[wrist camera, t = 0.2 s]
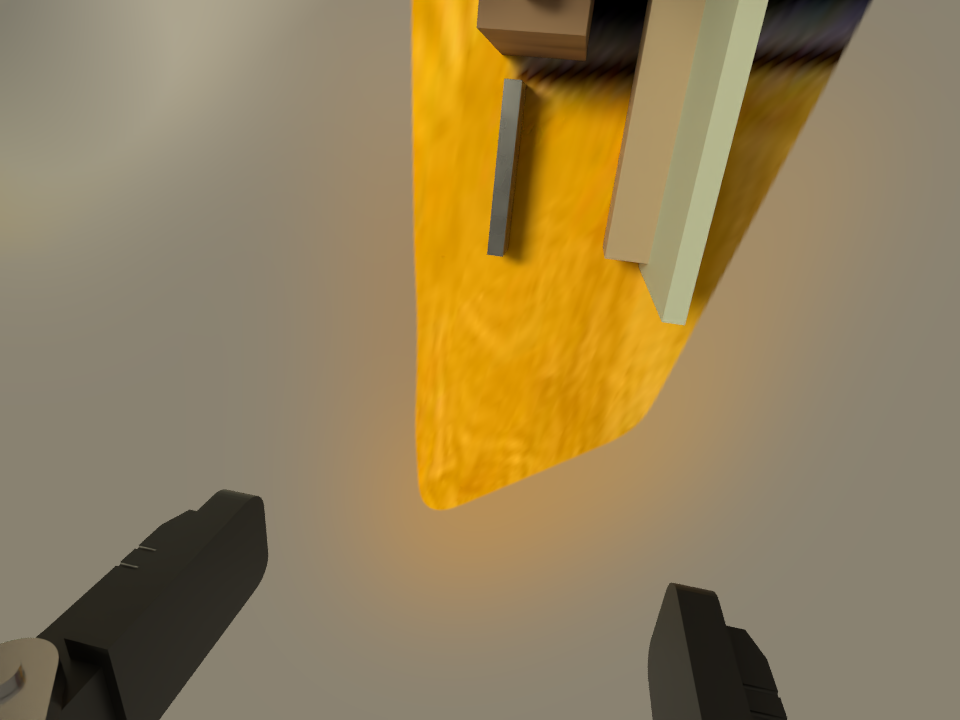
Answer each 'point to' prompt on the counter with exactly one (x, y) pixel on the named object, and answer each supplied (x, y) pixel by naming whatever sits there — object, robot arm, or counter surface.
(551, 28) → the walnut cabinet block
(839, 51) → the counter surface
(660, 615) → the robot arm
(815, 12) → the counter surface
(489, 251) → the dark metal rail
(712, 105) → the sage wall board
